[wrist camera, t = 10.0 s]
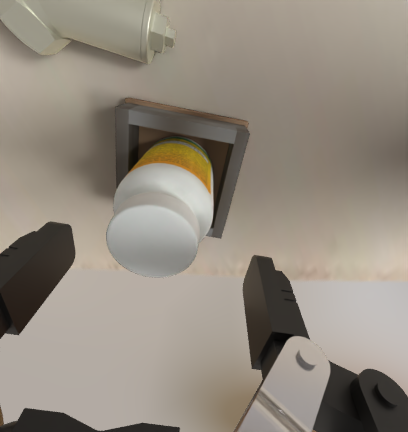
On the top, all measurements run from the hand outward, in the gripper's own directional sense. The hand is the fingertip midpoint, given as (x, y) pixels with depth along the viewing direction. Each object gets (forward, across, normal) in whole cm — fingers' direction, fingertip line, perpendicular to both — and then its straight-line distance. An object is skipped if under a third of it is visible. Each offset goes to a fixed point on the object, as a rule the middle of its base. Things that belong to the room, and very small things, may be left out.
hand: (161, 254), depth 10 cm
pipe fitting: (+11, +6, -9) cm, 15 cm away
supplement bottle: (+10, +1, 0) cm, 10 cm away
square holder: (+10, 0, 0) cm, 10 cm away
